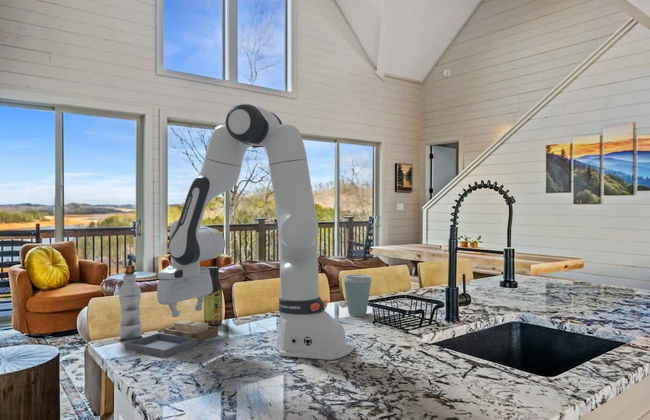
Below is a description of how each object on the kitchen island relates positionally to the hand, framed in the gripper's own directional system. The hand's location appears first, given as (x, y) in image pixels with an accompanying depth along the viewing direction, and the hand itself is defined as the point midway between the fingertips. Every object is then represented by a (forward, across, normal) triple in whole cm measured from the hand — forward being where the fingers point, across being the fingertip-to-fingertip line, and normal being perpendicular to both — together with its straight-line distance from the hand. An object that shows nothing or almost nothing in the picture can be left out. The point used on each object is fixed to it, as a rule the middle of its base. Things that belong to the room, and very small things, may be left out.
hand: (187, 313), depth 145 cm
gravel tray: (+7, +14, +4) cm, 16 cm away
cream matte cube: (+7, +1, +5) cm, 9 cm away
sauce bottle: (+8, -15, -4) cm, 17 cm away
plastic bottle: (+7, +11, -14) cm, 19 cm away
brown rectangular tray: (+7, +1, +2) cm, 8 cm away
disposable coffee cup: (+9, -50, +36) cm, 62 cm away
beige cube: (+6, +1, 0) cm, 7 cm away
